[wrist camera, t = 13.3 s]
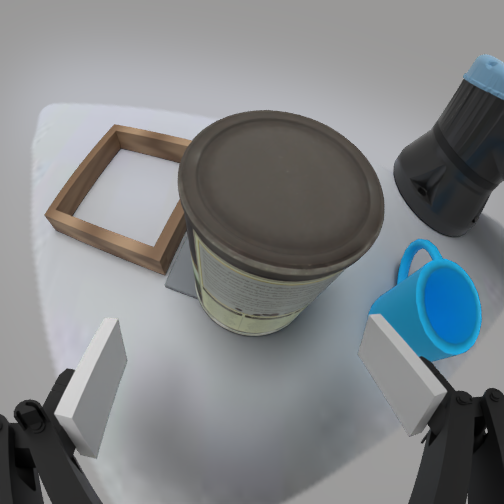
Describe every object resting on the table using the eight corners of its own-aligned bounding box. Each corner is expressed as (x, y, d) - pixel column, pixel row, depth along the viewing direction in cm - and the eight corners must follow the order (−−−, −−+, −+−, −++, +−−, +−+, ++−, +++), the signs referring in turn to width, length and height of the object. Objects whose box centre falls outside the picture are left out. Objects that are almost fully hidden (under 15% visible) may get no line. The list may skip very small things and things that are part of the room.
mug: (429, 367, 24) (485, 352, 17) (365, 369, 24) (418, 356, 17) (422, 264, 30) (465, 229, 23) (363, 253, 29) (403, 211, 22)
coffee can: (173, 260, 26) (146, 142, 13) (267, 214, 29) (302, 96, 17) (233, 360, 23) (257, 324, 10) (329, 298, 26) (418, 213, 13)
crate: (219, 166, 32) (220, 148, 29) (164, 275, 26) (159, 261, 23) (118, 141, 32) (114, 124, 30) (55, 230, 26) (44, 215, 23)
